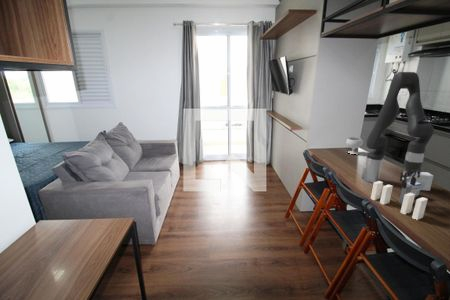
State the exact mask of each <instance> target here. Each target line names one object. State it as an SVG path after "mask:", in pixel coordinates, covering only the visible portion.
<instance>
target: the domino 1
mask: <svg viewBox="0 0 450 300" xmlns="http://www.w3.org/2000/svg"><path fill="white" fill-rule="evenodd" d="M383 183H384V182H383V181H381V180H378V181H377V182H374V183H372V185H373V186H372V190H371V195H370V199H371V200H372V201H377V200H379V199H381V194H382V189H383V186H384V184H383Z"/></svg>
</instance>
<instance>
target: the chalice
mask: <svg viewBox="0 0 450 300" xmlns="http://www.w3.org/2000/svg"><path fill="white" fill-rule="evenodd" d="M345 144H346V146H348V147H350V148H351V150H348V153H350V154H349V155H351V154H356V155H355V156H359V155H360V154H361V153H360V152H359V151H355V150H356V149H358V148H361V147H362V146H363V144H364V141H363V139H362V138H359V137H354V136H353V137H348V138H347V139H346V142H345ZM358 154H359V155H358Z"/></svg>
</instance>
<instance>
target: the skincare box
mask: <svg viewBox="0 0 450 300" xmlns="http://www.w3.org/2000/svg"><path fill="white" fill-rule="evenodd" d="M433 179H434V175H433V174H431V173H430V172H426V171H425V172H424V171H422V172H420V177H419V178H418V179H416V182H418V183H420V184H421V188H420V191H431V187H432V182H433ZM408 182H411V179H410V180H408ZM408 182H407V183H408Z"/></svg>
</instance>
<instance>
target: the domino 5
mask: <svg viewBox="0 0 450 300" xmlns="http://www.w3.org/2000/svg"><path fill="white" fill-rule="evenodd" d="M427 204H428V198H427V197H425V196H424V197H423V196H422V197H419V198H417V199H416V200H415V204H414V209H413V213H412V215H411V218H412V219H414V220H415V219H416V221H419V220H421V219H422V218H424V215H425V211H426V207H427Z"/></svg>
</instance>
